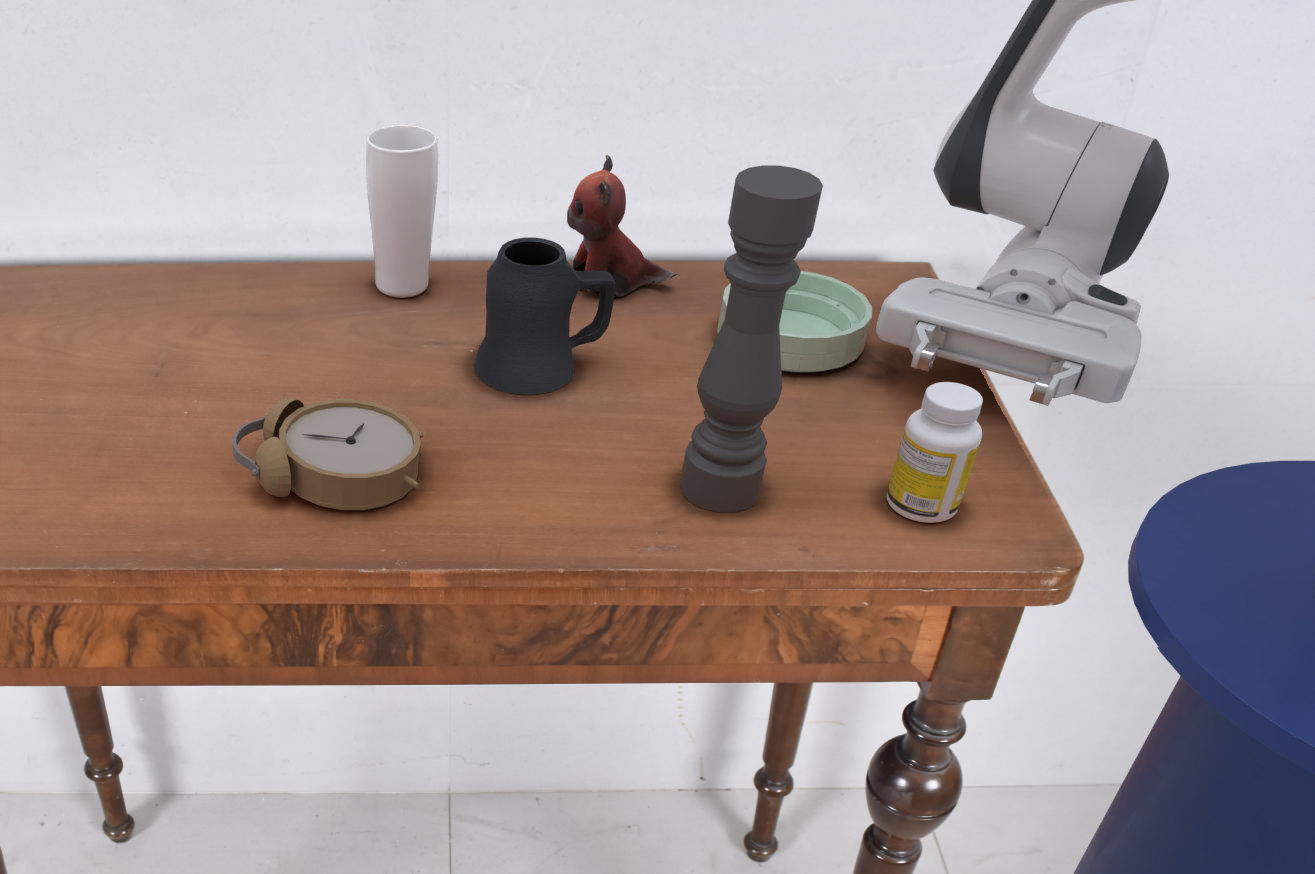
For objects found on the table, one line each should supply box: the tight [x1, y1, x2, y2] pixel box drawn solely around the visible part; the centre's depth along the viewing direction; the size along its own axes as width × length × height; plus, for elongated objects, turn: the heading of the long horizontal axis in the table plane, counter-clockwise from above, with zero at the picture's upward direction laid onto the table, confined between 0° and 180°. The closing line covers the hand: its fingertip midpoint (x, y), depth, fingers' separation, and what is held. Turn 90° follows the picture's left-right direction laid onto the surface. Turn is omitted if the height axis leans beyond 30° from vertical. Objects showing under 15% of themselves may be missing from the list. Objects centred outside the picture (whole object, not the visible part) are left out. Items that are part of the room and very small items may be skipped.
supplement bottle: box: [886, 381, 984, 524], centre depth 97 cm, size 5×5×10 cm
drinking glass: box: [365, 124, 439, 299], centre depth 123 cm, size 7×7×15 cm
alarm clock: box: [232, 397, 424, 511], centre depth 103 cm, size 11×5×15 cm
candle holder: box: [679, 164, 824, 513], centre depth 94 cm, size 6×6×25 cm
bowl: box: [716, 270, 873, 373], centre depth 119 cm, size 13×13×4 cm
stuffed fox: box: [566, 154, 679, 297], centre depth 124 cm, size 8×11×12 cm
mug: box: [473, 236, 615, 395], centre depth 113 cm, size 12×9×11 cm
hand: (980, 378), depth 103 cm, fingers open, 8 cm apart
